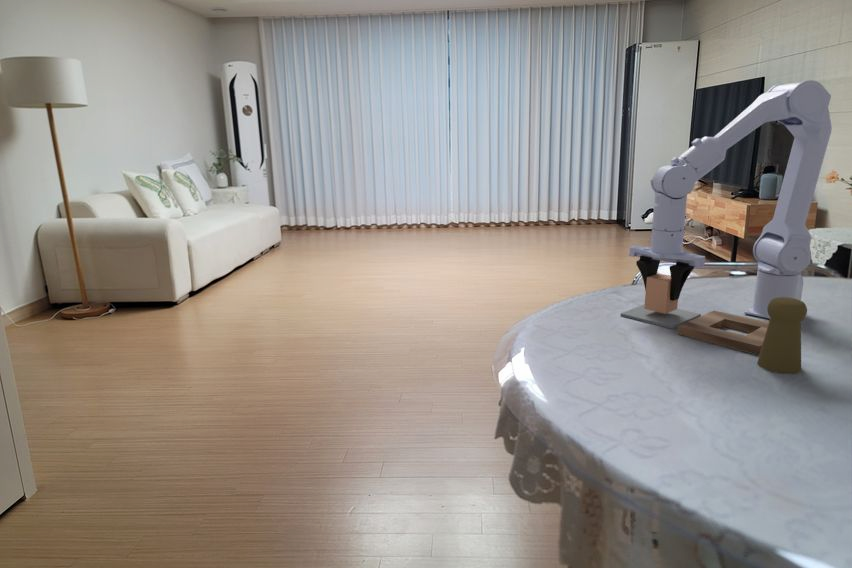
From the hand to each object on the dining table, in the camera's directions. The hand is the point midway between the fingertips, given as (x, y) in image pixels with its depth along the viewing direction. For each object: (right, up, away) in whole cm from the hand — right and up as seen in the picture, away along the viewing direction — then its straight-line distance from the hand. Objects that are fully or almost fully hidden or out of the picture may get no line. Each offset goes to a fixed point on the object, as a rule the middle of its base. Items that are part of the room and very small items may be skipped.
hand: (662, 296), depth 117 cm
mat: (0, -4, +1) cm, 4 cm away
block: (0, -2, +1) cm, 3 cm away
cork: (+9, -11, -24) cm, 28 cm away
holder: (+9, -7, -10) cm, 15 cm away
